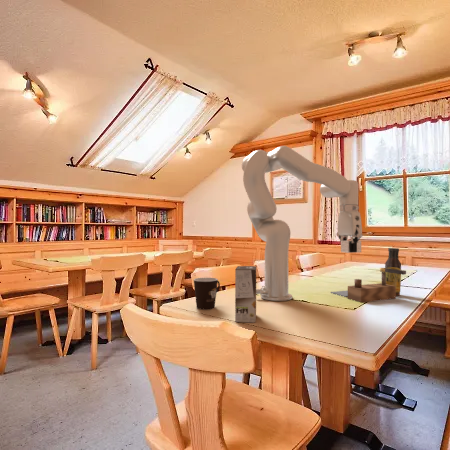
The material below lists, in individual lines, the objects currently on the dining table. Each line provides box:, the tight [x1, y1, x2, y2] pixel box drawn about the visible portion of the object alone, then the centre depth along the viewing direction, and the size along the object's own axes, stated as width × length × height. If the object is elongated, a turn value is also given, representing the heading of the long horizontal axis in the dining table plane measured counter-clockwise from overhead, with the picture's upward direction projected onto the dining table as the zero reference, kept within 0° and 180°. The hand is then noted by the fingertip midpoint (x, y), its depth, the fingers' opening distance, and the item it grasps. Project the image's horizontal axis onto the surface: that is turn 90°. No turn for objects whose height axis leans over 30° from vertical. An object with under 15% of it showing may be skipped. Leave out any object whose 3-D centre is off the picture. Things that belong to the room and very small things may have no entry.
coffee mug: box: [193, 277, 221, 311], centre depth 117 cm, size 12×9×10 cm
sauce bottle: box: [384, 247, 402, 297], centre depth 138 cm, size 6×6×20 cm
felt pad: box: [330, 289, 348, 298], centre depth 140 cm, size 12×9×1 cm
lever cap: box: [340, 239, 362, 254], centre depth 140 cm, size 7×4×5 cm, turn 112°
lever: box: [379, 267, 407, 276], centre depth 130 cm, size 10×3×1 cm, turn 28°
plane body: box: [347, 272, 397, 303], centre depth 131 cm, size 18×7×10 cm, turn 112°
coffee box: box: [234, 265, 257, 323], centre depth 103 cm, size 9×6×16 cm
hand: (349, 251), depth 140 cm, fingers closed on lever cap, 4 cm apart
